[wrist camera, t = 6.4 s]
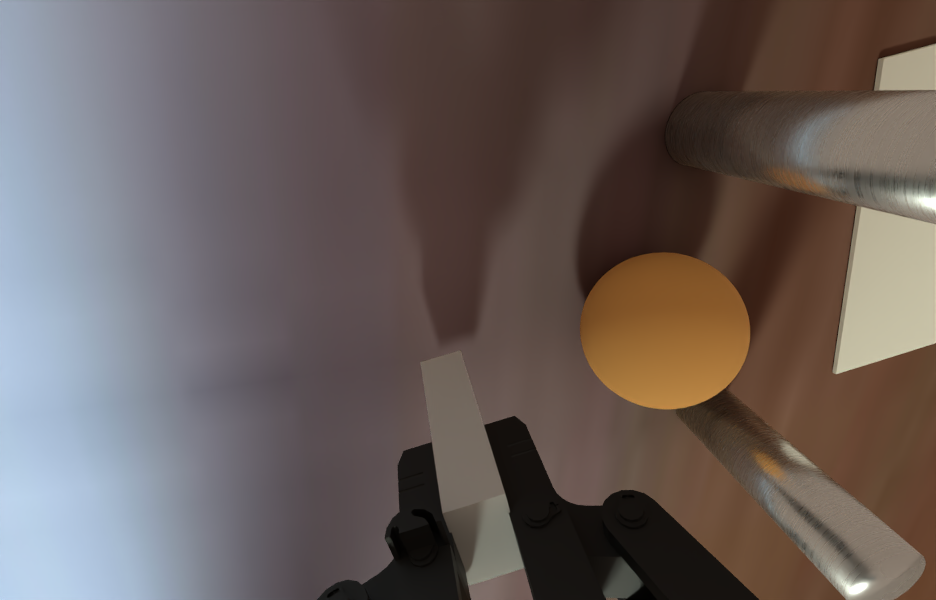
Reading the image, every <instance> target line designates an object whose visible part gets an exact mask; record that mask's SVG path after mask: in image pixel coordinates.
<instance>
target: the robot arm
mask: <svg viewBox="0 0 936 600" xmlns="http://www.w3.org/2000/svg"><path fill="white" fill-rule="evenodd" d="M420 364H421V371H422V378H423V385H424V391H425V398H426V405H427V412H428V419H429V426H430V432H431V439H432V442H431V443H428V444H425V445H421V446H418V447H415V448H411V449H408V450H405V451H403V454H402V456H401V458H400V461H399V463H398V481H399V482H398V486H399V509H400V512H399V513H398V514H397V515H396V516H395V517H393V518H392V520H391V522H390V523H389V525H388V527H387V529H386V534H385V540H386V542H387V544H388V546H389V548H390V550H391V552H392V555H393V557H394V559H393V561H392V562H391V563H390V564H389V565H388V566H387V567H386V568H385V569H384V570H383V571H381V572H380V573H379V574H378V575H376V576H375V577H373V578H372V579H370V580H369V581H367V582H366V583H364V584H363V585H361V584H360V583H359V582H357V581H352V580H345V581H342V582H338V583H336V584H334V585H333V586H331V587H330V588H328V589H327V590H325V591H324V593H323V594H322V595H321V596H320V597H319V598H318V599H317V600H471V598H470V594H469V588H468V584H469V586H470V585H473V584H476V583H479V582H482V581H485V580H488V579H492V578H495V577H498V576H501V575H504V574H507V573H510V572H513V571H516V570H519V569H522V568H525V572H526V575H527V578H528V582H529V585H530V589H531V593H532V596H533V600H606V598H605V597H607V598H617V599H618V600H759V599H758V598H757V597H756V596H755V595H754V594H753V593H752V592H751V591H750V590H749V589H747V588H746V587H745V586H744V585H743V584H742V583H741V582H740V581H739V580H738V579H737V578H736V577H735V576H734V575H733V574H732V573H731V572H730V571H728V570H727V569H726V568H725V567H724V566H723V565H722V564H721V563H720V562H719V561H718V560H717V559H716V558H715V557H714V556H713V555H712V554H711V553H709V552H708V551H707V550H706V549H705V548H704V547H703V546H702V545H701V544H700V543H699V542H698V541H697V540H696V539H695V538H694V537H693V536H692V535H691V534H689V533H688V532H687V531H686V530H685V529H684V528H683V527H682V526H681V525H680V524H679V523H678V522H677V521H676V520H675V519H674V518H673V517H672V516H670V515H669V514H668V513H667V512H666V511H665V510H664V509H663V508H662V507H661V506H660V505H659V504H658V503H657V502H656V501H655V500H653V499H652V498H650V497H649V496H647V495H646V494H645V493H641V492H638V491H635V490H621V491H618V492H616V493H613V494H611V495H610V496H609V497H608V498H607V499H606V500H605V501H604V503H603V506H583V505H576V504H573V503H570V502H568V501H566V500H564V499H562V498H561V497H560V496H559V495H558V494H557V493H556V491H555V490H554V488H553V486H552V484H551V481H550V479H549V477H548V475H547V472H546V470H545V468H544V465H543V463H542V461H541V459H540V456H539V454H538V452H537V450H536V447H535V445H534V443H533V440H532V438H531V436H530V433H529V431H528V429H527V427H526V425H525V424H524V423H523V422H522V421H520V420H519V419H518V418H517V417H515V416H512V417H509V418H506V419H503V420H499V421H496V422H493V423H490V424H486V425H484V424H483V421H482V417H481V414H480V411H479V408H478V405H477V401H476V398H475V395H474V392H473V388H472V385H471V382H470V379H469V376H468V372H467V369H466V366H465V363H464V359H463V356H462V353H461V350H460V351H456V352H453V353H449V354H446V355H443V356H439V357H436V358H433V359H429V360H426V361H422V362H420ZM467 581H468V582H467Z"/></svg>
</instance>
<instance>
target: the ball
mask: <svg viewBox="0 0 936 600" xmlns="http://www.w3.org/2000/svg"><path fill="white" fill-rule="evenodd" d="M580 336H581V343H582V347H583V351H584V354H585V356H586V358H587V361H588V363H589V365H590V366H591V368H592V370H593V371H594V373H595V374H596V375H597V376H598V378H599V379H600V380H601V381H602V382H603V383H604V384H605V385H606V386H607V387H608V388H609V389H610V390H612V391H613V392H615V393H616V394H617V395H619V396H621V397H623V398H624V399H626V400H628V401H630V402H633V403H636V404H638V405H641V406H645V407H649V408H656V409H679V408H685V407H689V406H693V405H696V404H699V403H701V402H704V401H706V400H708V399H710V398H712V397H713V396H715V395H717V394H718V393H719V392H721V391H722V390H723V389H724V388H726V387H727V386H728V385H729V384H730V382H731V381H732V380H733V379H734V378H735V376H736V375H737V374H738V372H739V371H740V369H741V367H742V365H743V363H744V361H745V358H746V355H747V352H748V349H749V343H750V323H749V317H748V313H747V310H746V307H745V304H744V302H743V300H742V298H741V296H740V294H739V293H738V291H737V290H736V288H735V287H734V286H733V285H732V283H731V282H730V281H729V280H728V279H727V278H726V277H725V276H724V275H723V274H722V273H720V272H719V271H718V270H717V269H715V268H714V267H712V266H711V265H709V264H707V263H705V262H703V261H701V260H699V259H696V258H693V257H691V256H688V255H683V254H678V253H668V252H660V253H649V254H643V255H639V256H636V257H633V258H630V259H628V260H625V261H623V262H621V263H620V264H618V265H616V266H615V267H613V268H612V269H610V270H609V271H608V272H607V273H605V274H604V275H603V276H602V277H601V278H600V280H599V281H598V282H597V283H596V284H595V286H594V287H593V288H592V290H591V291H590V293H589V295H588V297H587V299H586V301H585V304H584V307H583V311H582V315H581V322H580Z"/></svg>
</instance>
